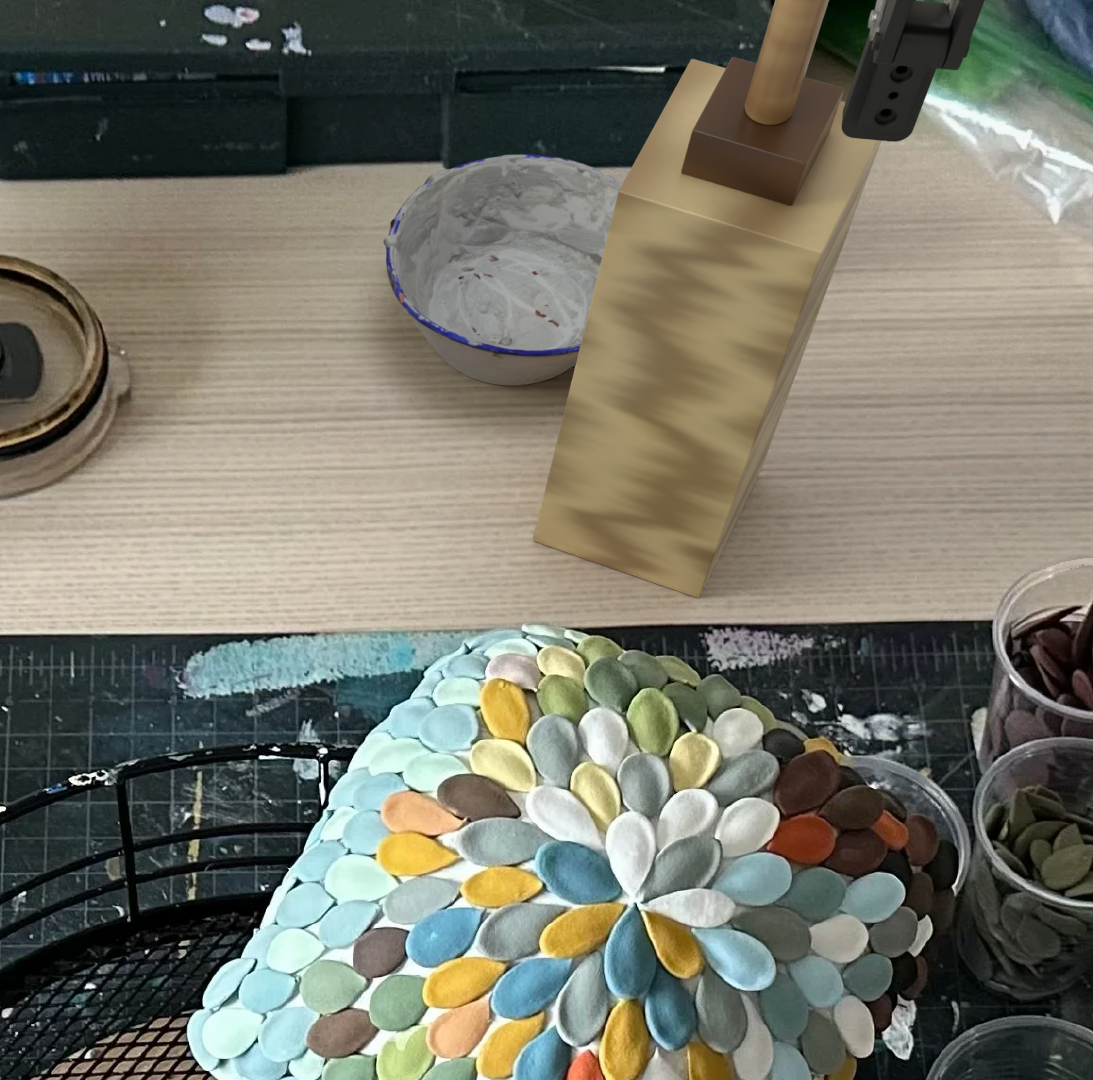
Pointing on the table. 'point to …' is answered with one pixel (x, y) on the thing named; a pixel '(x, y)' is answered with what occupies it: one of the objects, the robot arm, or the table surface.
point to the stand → (691, 350)
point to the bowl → (503, 263)
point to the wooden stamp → (767, 112)
